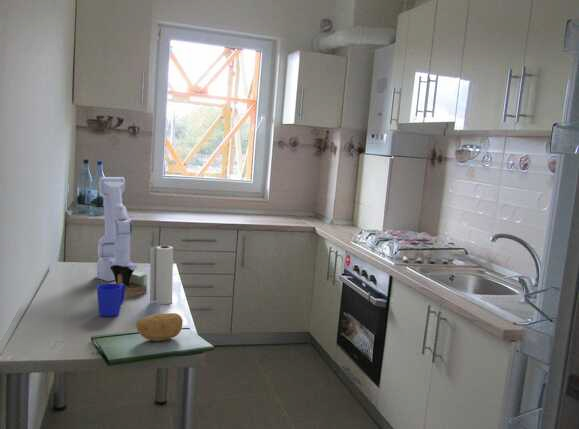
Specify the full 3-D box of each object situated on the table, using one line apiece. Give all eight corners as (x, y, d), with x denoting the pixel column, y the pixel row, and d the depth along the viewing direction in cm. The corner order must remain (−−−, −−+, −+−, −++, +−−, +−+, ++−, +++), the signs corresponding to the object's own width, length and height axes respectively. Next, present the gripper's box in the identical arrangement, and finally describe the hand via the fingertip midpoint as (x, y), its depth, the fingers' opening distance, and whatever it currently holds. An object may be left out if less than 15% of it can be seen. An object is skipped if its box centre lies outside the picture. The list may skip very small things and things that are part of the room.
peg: (115, 292, 213) (115, 274, 212) (123, 290, 216) (123, 273, 215) (121, 293, 211) (121, 276, 210) (129, 291, 214) (129, 274, 213)
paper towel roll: (175, 301, 206) (176, 246, 203) (165, 305, 201) (166, 249, 198) (160, 298, 209) (160, 244, 206) (149, 302, 204) (150, 246, 200)
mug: (133, 309, 195) (133, 282, 193) (111, 319, 183) (111, 291, 182) (113, 306, 197) (114, 279, 196) (91, 316, 186) (91, 287, 185)
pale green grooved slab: (119, 288, 220) (119, 270, 219) (127, 286, 223) (127, 268, 222) (138, 294, 213) (138, 275, 212) (146, 292, 216) (146, 274, 215)
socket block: (101, 292, 213) (101, 285, 213) (127, 286, 223) (127, 279, 222) (121, 298, 206) (121, 291, 206) (146, 292, 216) (146, 285, 216)
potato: (134, 336, 170) (134, 311, 168) (179, 332, 175) (179, 308, 174) (137, 348, 161) (138, 322, 160) (185, 343, 166) (185, 318, 165)
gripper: (102, 249, 212) (102, 282, 214) (125, 255, 204) (125, 290, 206) (117, 246, 218) (117, 279, 220) (141, 252, 210) (140, 286, 212)
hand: (122, 284), depth 213 cm, fingers closed on peg, 3 cm apart
